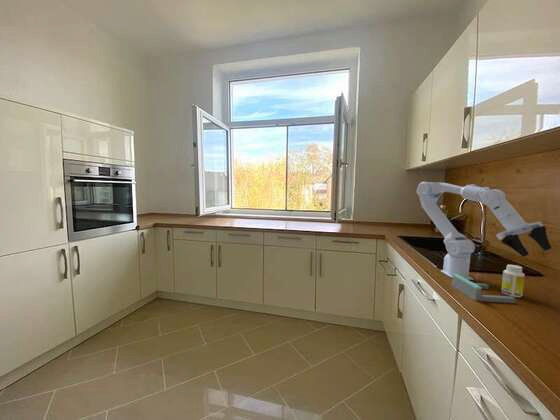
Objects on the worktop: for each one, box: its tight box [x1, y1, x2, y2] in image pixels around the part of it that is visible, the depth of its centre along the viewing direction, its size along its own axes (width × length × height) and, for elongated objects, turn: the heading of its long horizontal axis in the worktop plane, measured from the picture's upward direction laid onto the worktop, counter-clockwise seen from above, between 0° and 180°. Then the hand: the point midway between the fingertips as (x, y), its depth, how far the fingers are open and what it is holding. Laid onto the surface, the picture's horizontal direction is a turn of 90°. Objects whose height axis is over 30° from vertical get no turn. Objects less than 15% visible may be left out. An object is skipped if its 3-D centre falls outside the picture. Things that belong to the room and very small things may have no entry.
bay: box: [451, 274, 516, 304], centre depth 89 cm, size 13×12×5 cm
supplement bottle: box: [500, 264, 525, 298], centre depth 89 cm, size 6×6×10 cm
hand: (537, 252), depth 84 cm, fingers open, 7 cm apart
